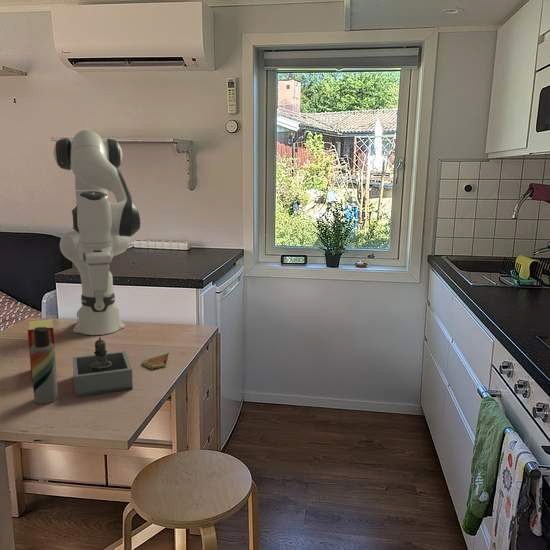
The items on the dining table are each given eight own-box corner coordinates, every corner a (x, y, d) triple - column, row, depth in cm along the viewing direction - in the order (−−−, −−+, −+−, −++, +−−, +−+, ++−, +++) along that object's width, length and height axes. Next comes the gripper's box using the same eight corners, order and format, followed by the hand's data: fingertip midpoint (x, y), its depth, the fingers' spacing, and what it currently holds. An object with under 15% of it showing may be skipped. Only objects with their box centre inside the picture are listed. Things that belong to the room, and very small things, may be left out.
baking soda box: (32, 369, 149) (28, 319, 145) (55, 366, 151) (52, 317, 148) (31, 381, 140) (27, 329, 137) (56, 378, 143) (53, 326, 140)
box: (73, 376, 145) (72, 357, 144) (125, 369, 151) (125, 351, 150) (75, 397, 131) (74, 376, 130) (132, 389, 137) (132, 369, 136)
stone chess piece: (89, 373, 144) (87, 335, 142) (110, 370, 147) (108, 332, 145) (92, 381, 139) (90, 341, 137) (113, 377, 142) (112, 338, 140)
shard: (168, 356, 163) (168, 351, 163) (182, 363, 158) (182, 358, 158) (140, 365, 155) (140, 360, 155) (154, 372, 150) (154, 367, 150)
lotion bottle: (39, 394, 132) (34, 324, 128) (61, 394, 133) (56, 324, 129) (30, 404, 127) (24, 331, 123) (53, 404, 127) (48, 331, 123)
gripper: (82, 246, 141) (84, 292, 144) (85, 258, 123) (88, 311, 126) (104, 245, 144) (106, 291, 147) (111, 257, 125) (113, 309, 128)
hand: (98, 300), depth 136 cm, fingers open, 8 cm apart
